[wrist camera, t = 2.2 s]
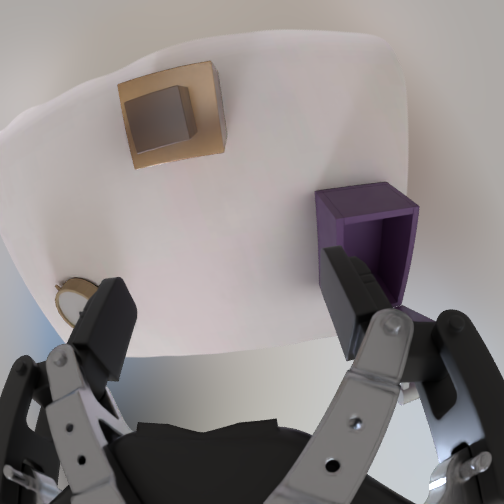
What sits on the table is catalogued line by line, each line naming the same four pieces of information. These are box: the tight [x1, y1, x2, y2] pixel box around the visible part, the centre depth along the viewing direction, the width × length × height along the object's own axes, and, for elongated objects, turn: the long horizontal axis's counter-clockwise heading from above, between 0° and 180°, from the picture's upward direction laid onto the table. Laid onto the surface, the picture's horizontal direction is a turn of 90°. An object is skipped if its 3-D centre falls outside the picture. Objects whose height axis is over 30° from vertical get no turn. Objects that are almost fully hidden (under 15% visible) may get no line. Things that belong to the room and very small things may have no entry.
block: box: [124, 85, 197, 154], centre depth 18 cm, size 4×4×4 cm
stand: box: [118, 61, 227, 170], centre depth 23 cm, size 8×8×10 cm
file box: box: [315, 182, 419, 307], centre depth 35 cm, size 16×11×8 cm
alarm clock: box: [55, 278, 98, 328], centre depth 41 cm, size 11×5×15 cm
